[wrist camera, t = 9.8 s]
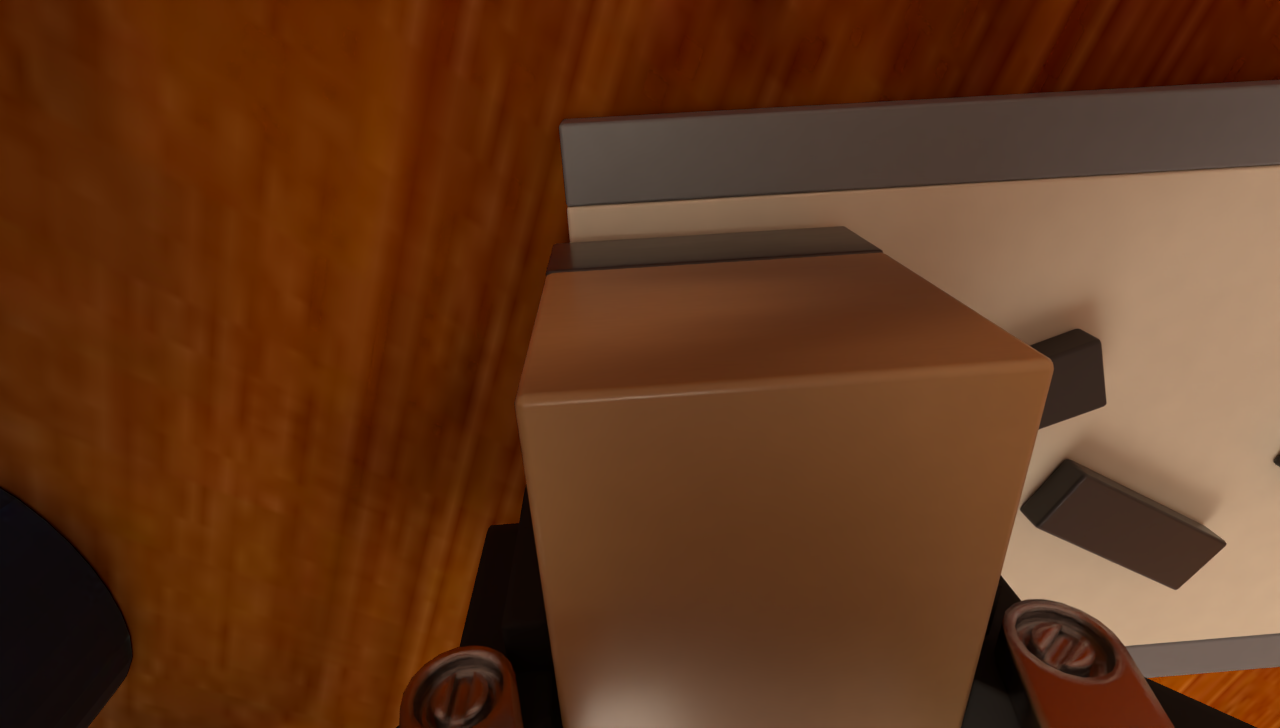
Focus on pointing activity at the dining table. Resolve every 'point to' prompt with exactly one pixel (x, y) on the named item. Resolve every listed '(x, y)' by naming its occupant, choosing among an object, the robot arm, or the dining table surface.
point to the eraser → (768, 481)
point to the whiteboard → (1043, 292)
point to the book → (53, 628)
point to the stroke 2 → (1121, 525)
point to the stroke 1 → (1073, 376)
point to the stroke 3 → (1277, 461)
